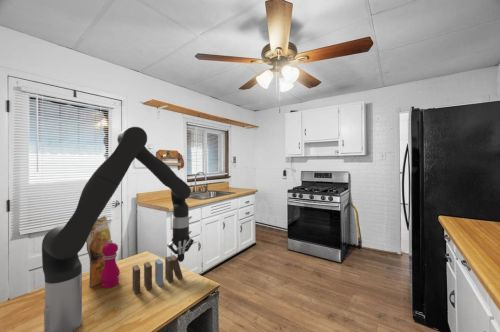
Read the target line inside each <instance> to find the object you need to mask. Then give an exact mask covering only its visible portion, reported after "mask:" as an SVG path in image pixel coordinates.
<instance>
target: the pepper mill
mask: <svg viewBox="0 0 500 332" xmlns="http://www.w3.org/2000/svg"><path fill="white" fill-rule="evenodd" d="M118 250H119V245H118V244H117V243H116V242H114V241H113V239H111V240H109V241H108V244H106V245H105V246H104V247H103V249H102V253H103V254H104V259H105V266H104V268H103V270H102V273H101V280H103V281H102V282H101V287H102V288H105V289H109V288H113V287H115V286H116V285H117V286H118V284H119V282H120V281H119V276H120V273H121V272H120V268H119V266H118V265H117V262H116V261H117V260H116V257H117V256H118V255H117V252H118Z"/></svg>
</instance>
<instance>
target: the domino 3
mask: <svg viewBox="0 0 500 332" xmlns="http://www.w3.org/2000/svg"><path fill="white" fill-rule="evenodd" d="M154 261H155V262H154V281H155V283H156V285H157V286H158V287H162V286H163V285H164V262H163V261H162V260H161V259H160V258H158V259H155V260H154Z"/></svg>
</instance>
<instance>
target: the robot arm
mask: <svg viewBox="0 0 500 332" xmlns="http://www.w3.org/2000/svg"><path fill="white" fill-rule="evenodd" d="M117 143H118V145H117V146H116V148H114V151H113V152H112V153H111V155H109V156H108V158H106V159H105V160H104V161H103V162H102V163H101V164H100V165H99V166H98V167H97V169H95V171H94V172H93V173H92V175H91V176H90V178H89V179H88V181H87V182H86V183H85V185H84V187H83V188H82V191H81V192H80V193H81V194H80V197H79V199H78V203H77V205H76V208H75V210H74V211H73V214H72V215H71V217H70V218H69V220H68V221H67V222H66V223H65V225H59V226H58V225H57V226H55V227H54V228H52V229H50V230H49V231H47V233H46V234H45V235H44V237H43V239H42V242H41V261H42V271H43V274H44V308H43V331H44V332H74V331H76V330H77V329H78V328H80V326H81V325H82V324H83V280H82V279H83V276H82V275H83V273H82V272H83V268H82V267H83V266H82V263H81V260H80V257H79V252H80V251H81V250H82V249H83V248H84V246H85V244H86V241H87V239H88V236H89V234H90V232H91V230H92V228H93V226H94V224H95V222H96V221H97V219H99V218H100V215H101V214H102V213H103V211H104V209H106V206H107V204H108V203H109V201H110V200H111V199H112V197H113V196H114V194H115V192H116V191H117V189H118V188H119V185H120V184H121V182H122V181H123V179H124V177H125V175H126V174H127V172H128V170H129V168H130V166H131V164H132V163H133V162H134V160H135V159H136V160H137V161H138V162H139V163H141V164H142V165H143V166H145V168H147V169H148V171H150V172H151V173H152V174H153V175H154V176H155V177H156V178H157V179H158V181H160V182H161V184H163V185H164V186H165V187H167V188H169V189H170V190H171V191H170V197H171V202H172V207H173V208H172V209H173V211H172V212H173V214H172V216H173V217H172V238H171V242H169V243H167V245H166V246H167V247H168V249H169V250H171V251H172V252H173V253H174V255H177V256H176V257H177V258H178V261H179V263H181V262H182V263H183V262H184V261H185V253H186V252H189V250H190V249H191V246H193V244H194V242H195V240H194V239H192V238H191V236H190V218H189V214H190V213H189V211H190V210H189V205H188V204H187V202H186V199H188V198H189V197H191V194H192V191H191V190H192V189H191V187H190V186H189V185H188V183H186V182H185V181H184V180H183V179H182V178H180V177H179V176H178V175H177V174H176V173H175V172H174V170H172V168H171V167H169V165H167V163H166V162H164V161H162V159H160V158H158V157H157V156H155V155H154V154H153V153H152V152H151V151H149V149H147V147H146V144H147V143H148V135H147V131H145V130H144V128H142V127H139V126H130V127H127V128H126V129H123V130H122V131H120V132H119V134H118V135H117ZM174 246H175V248H176V249H175V248H174Z"/></svg>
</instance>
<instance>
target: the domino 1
mask: <svg viewBox="0 0 500 332" xmlns="http://www.w3.org/2000/svg"><path fill="white" fill-rule="evenodd" d="M132 292H133V293H134V295H138V294H141V268H140V266H139V265H138V264H134V265H132Z"/></svg>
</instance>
